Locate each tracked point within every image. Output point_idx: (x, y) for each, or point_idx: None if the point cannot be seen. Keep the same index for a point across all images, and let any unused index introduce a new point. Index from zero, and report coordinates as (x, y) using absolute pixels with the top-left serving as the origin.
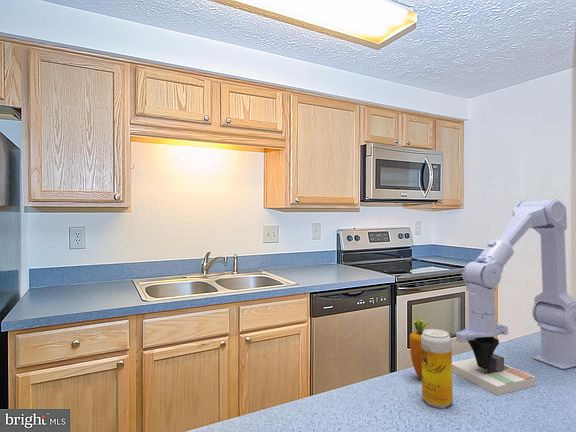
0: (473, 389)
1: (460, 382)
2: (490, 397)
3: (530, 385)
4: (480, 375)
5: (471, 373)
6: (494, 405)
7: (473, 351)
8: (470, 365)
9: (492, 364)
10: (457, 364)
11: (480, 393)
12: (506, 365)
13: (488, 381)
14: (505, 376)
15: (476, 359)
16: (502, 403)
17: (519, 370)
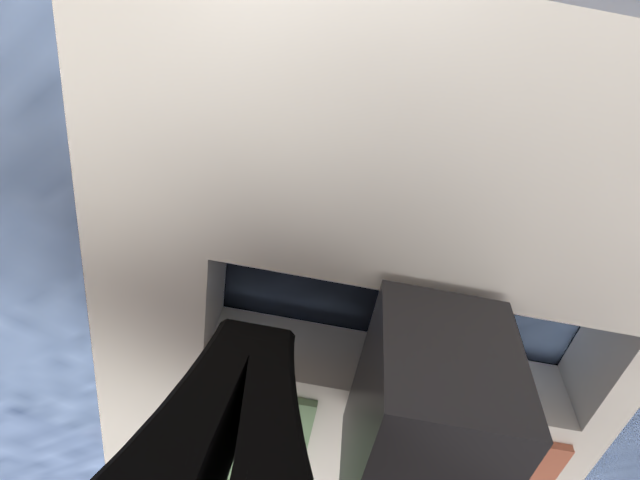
0: (36, 308)
1: (12, 184)
2: (68, 410)
3: None
4: (142, 355)
5: (91, 290)
6: (15, 451)
7: (102, 471)
8: (274, 169)
9: (349, 434)
10: (126, 36)
11: (42, 359)
12: (638, 386)
13: (111, 429)
14: (336, 459)
15: (184, 380)
16: (81, 463)
17: (582, 476)
